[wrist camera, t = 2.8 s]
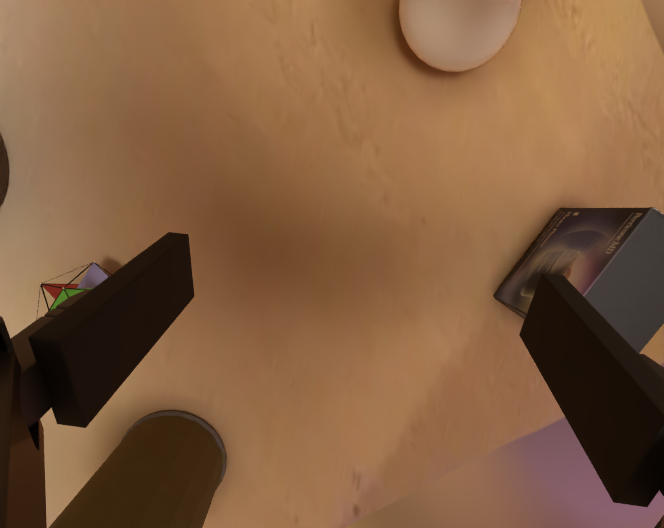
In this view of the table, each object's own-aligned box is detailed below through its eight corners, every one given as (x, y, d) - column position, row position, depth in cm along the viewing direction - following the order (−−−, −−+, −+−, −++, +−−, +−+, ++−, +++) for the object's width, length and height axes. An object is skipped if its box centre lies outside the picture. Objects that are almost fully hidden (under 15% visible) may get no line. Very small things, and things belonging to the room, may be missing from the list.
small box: (557, 203, 36) (655, 200, 25) (609, 242, 36) (725, 255, 26) (488, 295, 37) (555, 329, 26) (540, 331, 37) (626, 379, 27)
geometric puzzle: (20, 302, 33) (11, 362, 27) (61, 237, 32) (61, 285, 27) (105, 324, 38) (114, 379, 32) (143, 268, 37) (158, 314, 32)
